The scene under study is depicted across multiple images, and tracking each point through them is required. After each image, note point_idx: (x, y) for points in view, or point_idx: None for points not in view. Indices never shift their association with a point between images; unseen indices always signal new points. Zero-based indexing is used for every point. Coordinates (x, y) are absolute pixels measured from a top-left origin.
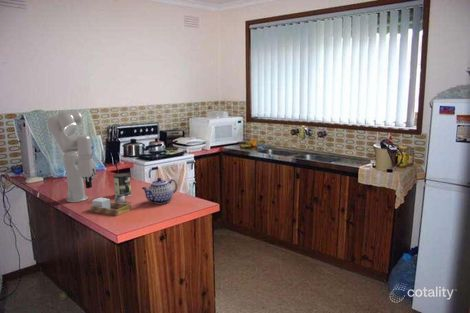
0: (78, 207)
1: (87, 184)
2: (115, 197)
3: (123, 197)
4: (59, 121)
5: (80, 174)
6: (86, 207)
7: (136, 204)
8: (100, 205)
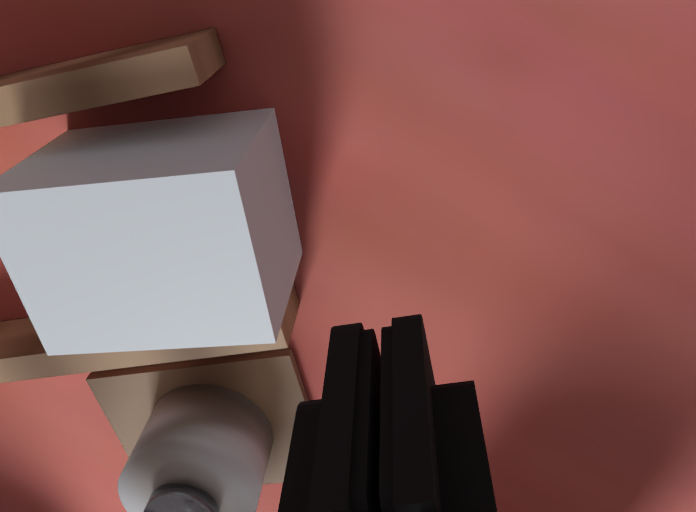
0: (630, 39)
1: (320, 418)
2: (197, 462)
3: (124, 501)
4: None
5: None
6: (488, 117)
7: (50, 473)
8: (54, 162)
